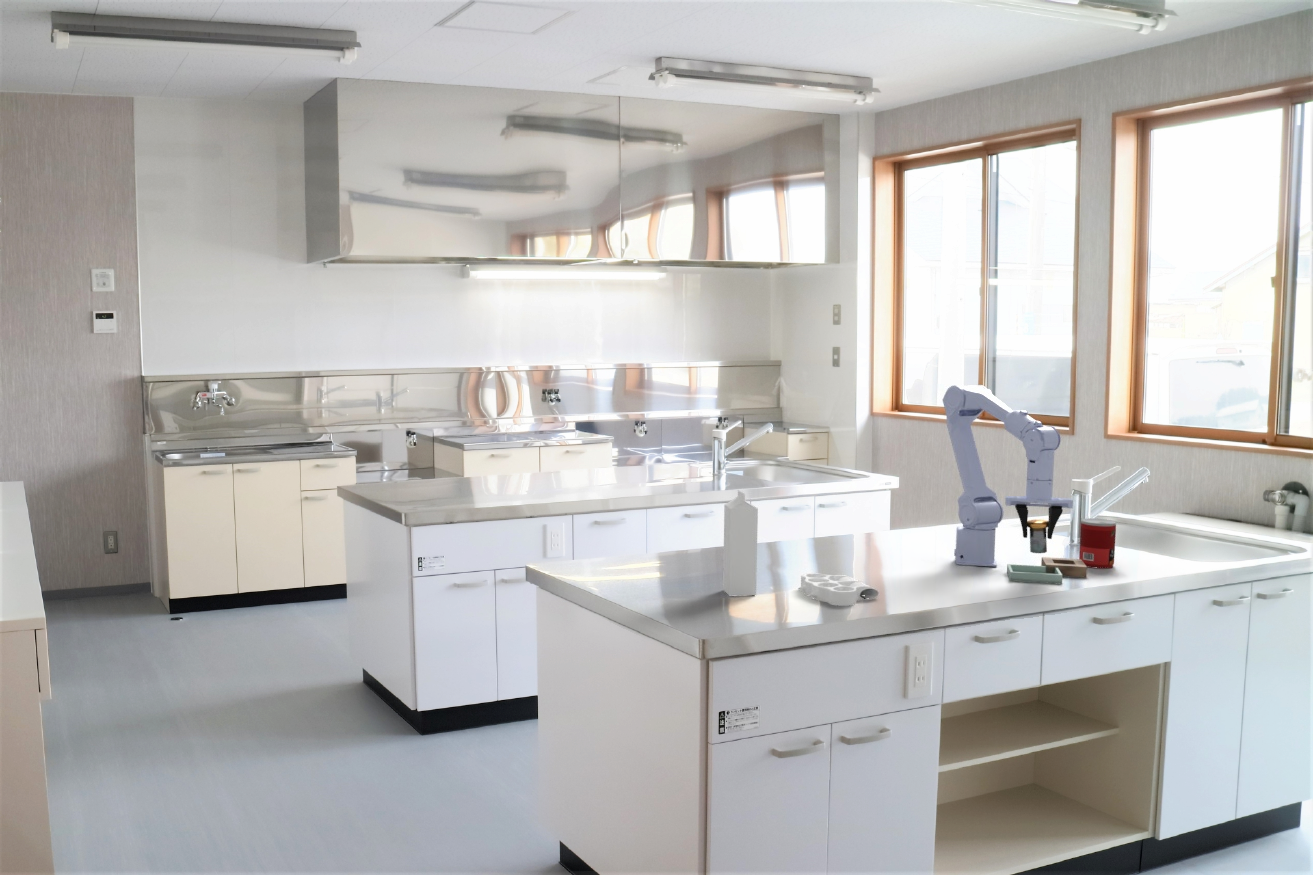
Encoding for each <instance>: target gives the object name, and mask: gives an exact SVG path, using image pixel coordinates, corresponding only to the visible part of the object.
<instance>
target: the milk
mask: <svg viewBox="0 0 1313 875" xmlns="http://www.w3.org/2000/svg"><path fill="white" fill-rule="evenodd" d="M758 509H759V508H758V507H756V506H754V505H753V504H752V503H750V502H748V501H747V500H746V494H745V492H743V491H742V490H739V489H738V490H737V497H735V498H733V499H732V500H729V501H728V502H727V503H725V504H724V512H723V516H724V517H723V518H724V519H723V561H722V562H723V566H722V567H723V568H722V570H723V573H722V575H723V576H722V577H723V578H722V590H723V589H724V590H725V591H726V592H727V593H728V594H729V595H756V596H757V579H758V578H757V576H758V575H757V572H758V568H757V567H758V564H757V563H758V527H759V526H758V525H759V524H758V522H759V520H758V519H759V518H758V517H759V515H758V513H759V512H758V511H759V510H758ZM724 590H723V591H724Z"/></svg>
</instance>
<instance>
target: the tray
mask: <svg viewBox="0 0 1313 875" xmlns="http://www.w3.org/2000/svg"><path fill="white" fill-rule="evenodd" d="M1050 568H1051V567H1047V568H1046V566H1041V565H1031V564H1016V563H1015V564H1014V563H1007V564H1006V574H1007V576H1008V578H1009V581H1010V582H1023V583H1024V582H1025V583H1026V582H1027V583H1038V582H1042V583H1041V584H1054V583H1057V584H1059V585H1062V584H1063V577H1064V576H1063V575H1062V574H1061V572H1060V570H1059V569H1058V567H1055V568H1054V567H1053V568H1051V569H1050ZM1050 570H1051V572H1052V571H1053V572H1052V573H1051V572H1050ZM1046 571H1047V573H1046ZM1054 572H1055V573H1054Z"/></svg>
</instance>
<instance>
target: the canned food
mask: <svg viewBox="0 0 1313 875" xmlns="http://www.w3.org/2000/svg"><path fill="white" fill-rule="evenodd" d="M1079 532H1080V533H1079V534H1080V535H1079V536H1080V537H1079V555H1078V559H1081V560H1082V561H1083V562H1084V564H1085V565H1086V566H1087V568H1092V567H1097V568H1096V569H1110V568H1113V566H1114V565H1115V555H1116V554H1115V553H1116V552H1115V549H1116V538H1117V537H1116V533H1117V522H1116V521H1114V520H1111V519H1105V518H1083V519H1081V520H1080V530H1079Z"/></svg>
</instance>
